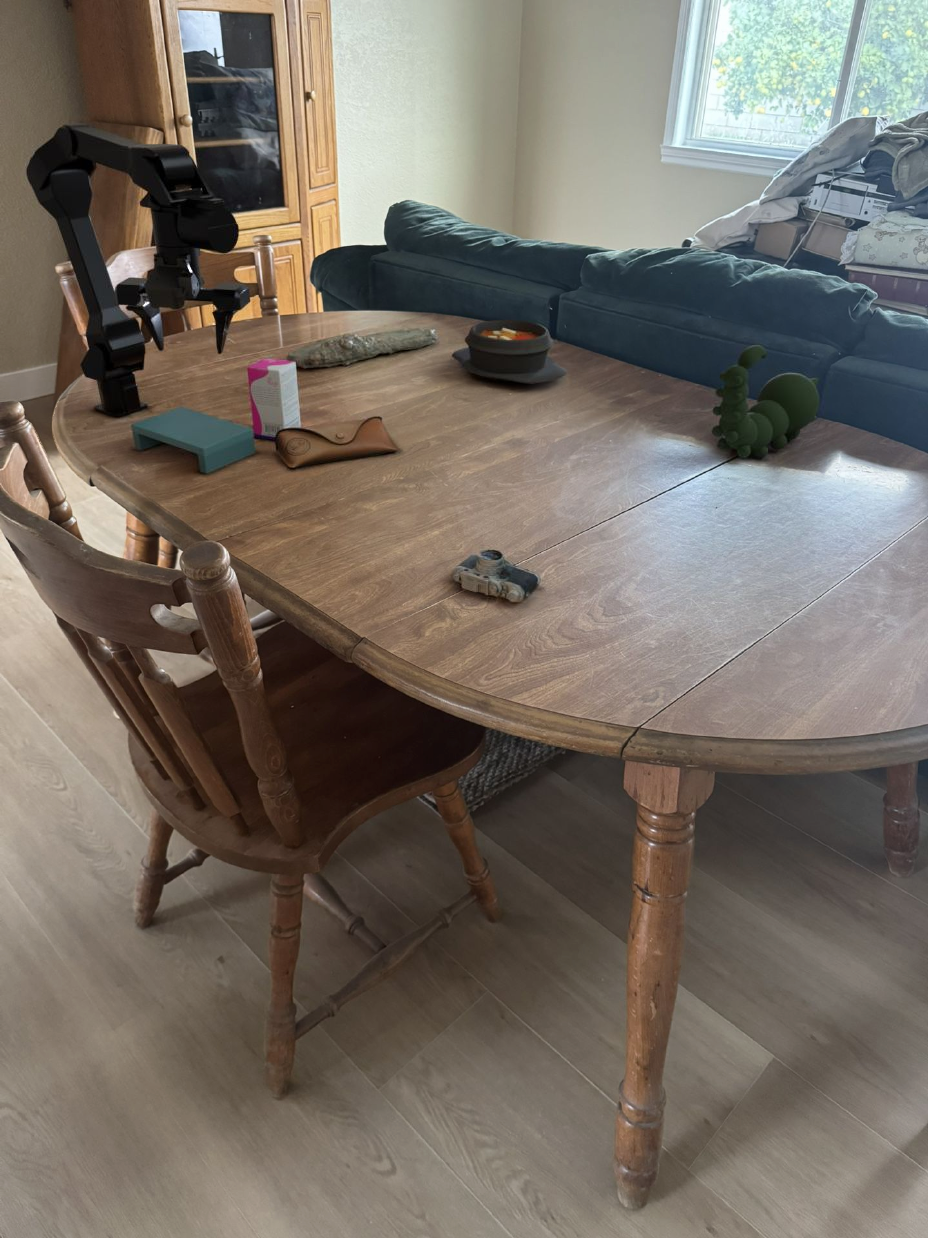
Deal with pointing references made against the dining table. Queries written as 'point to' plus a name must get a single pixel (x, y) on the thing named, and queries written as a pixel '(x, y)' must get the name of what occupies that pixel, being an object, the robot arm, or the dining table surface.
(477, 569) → the camera
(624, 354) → the dining table surface
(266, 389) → the supplement box
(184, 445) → the shelf
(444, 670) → the dining table surface
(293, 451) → the sunglasses case
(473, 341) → the casserole
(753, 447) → the toy figurine
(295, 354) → the elongated rock
